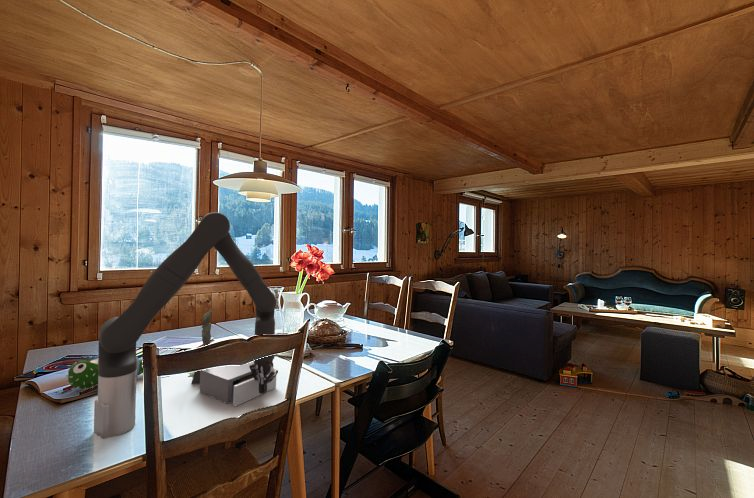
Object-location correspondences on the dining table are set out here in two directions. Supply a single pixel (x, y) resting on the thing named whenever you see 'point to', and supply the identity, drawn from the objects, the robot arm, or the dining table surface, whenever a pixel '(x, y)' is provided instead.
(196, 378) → the statue
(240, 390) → the grey drawer
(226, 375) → the grey drawer cabinet
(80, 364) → the toy
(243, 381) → the walnut block
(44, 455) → the dining table surface
